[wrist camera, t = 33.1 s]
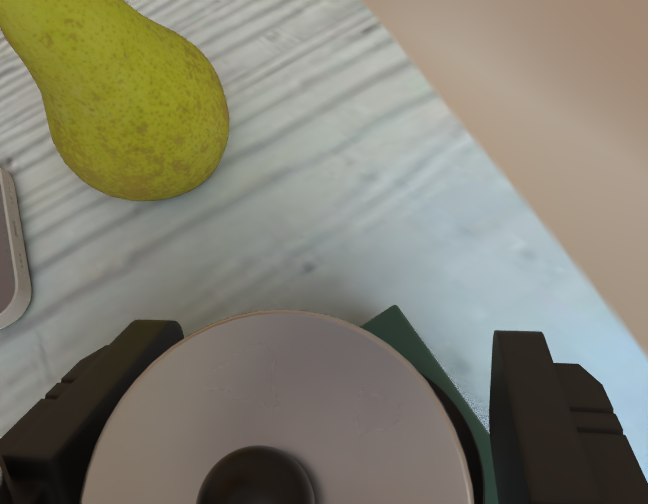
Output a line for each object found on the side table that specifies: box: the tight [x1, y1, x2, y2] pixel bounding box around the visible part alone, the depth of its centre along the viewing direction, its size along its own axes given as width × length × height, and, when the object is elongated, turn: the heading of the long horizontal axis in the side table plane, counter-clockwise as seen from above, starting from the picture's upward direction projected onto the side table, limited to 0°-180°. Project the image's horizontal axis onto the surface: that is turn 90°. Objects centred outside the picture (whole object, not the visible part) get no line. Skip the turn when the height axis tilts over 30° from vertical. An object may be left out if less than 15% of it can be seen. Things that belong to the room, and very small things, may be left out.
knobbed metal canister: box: [79, 309, 476, 504], centre depth 9 cm, size 4×4×9 cm
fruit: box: [0, 0, 229, 201], centre depth 16 cm, size 6×6×12 cm
